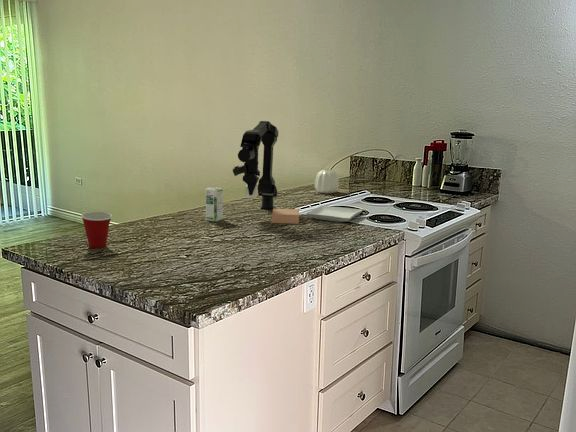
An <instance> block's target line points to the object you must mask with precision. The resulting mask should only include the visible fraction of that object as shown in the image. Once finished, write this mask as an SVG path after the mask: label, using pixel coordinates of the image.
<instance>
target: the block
mask: <svg viewBox="0 0 576 432" xmlns="http://www.w3.org/2000/svg"><path fill="white" fill-rule="evenodd" d="M244 197H245V198H246V199H257V198H258V184H256V186H255V189H254V191H253V194H252V195H249V190H248V186H247V184H246V185H245V187H244Z"/></svg>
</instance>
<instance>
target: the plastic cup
mask: <svg viewBox="0 0 576 432" xmlns="http://www.w3.org/2000/svg"><path fill="white" fill-rule="evenodd" d="M80 217H81V219H82V222H83V226H84V230H85V235H86V239H87V243H88V246H89V248H91V249H101V248H105V247H106V246H107V241H108V234H109V228H110V224H111V223H110V222H111V219H112V218H113V215H112V214H111V213H109V212H105V211H87V212H84V213H82V214H80Z"/></svg>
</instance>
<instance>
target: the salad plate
mask: <svg viewBox="0 0 576 432" xmlns="http://www.w3.org/2000/svg"><path fill="white" fill-rule="evenodd" d="M362 212H363V209H358V208H351V207H341V206H328V205H320V206H318V207H316V208H315V207H314V208H313V209H311V210H309V211H307V212H306V216H308V217H309V218H311V219H315V220H322V221H330V222H337V223H338V222H339V223H345V222H348V221H350V220H351V219H353V218H355V217H356V216H358V215H360V214H361V213H362Z"/></svg>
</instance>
